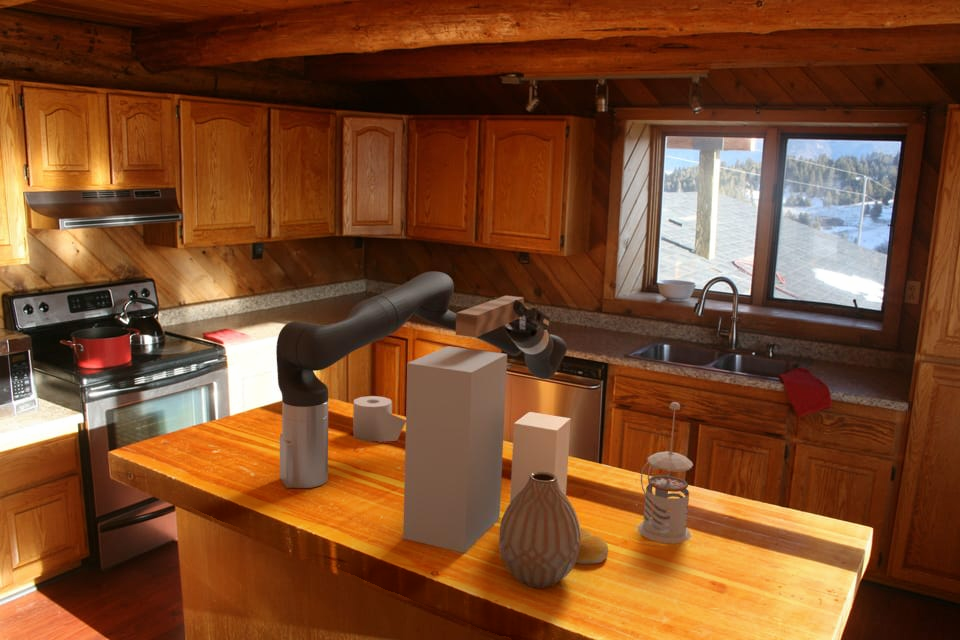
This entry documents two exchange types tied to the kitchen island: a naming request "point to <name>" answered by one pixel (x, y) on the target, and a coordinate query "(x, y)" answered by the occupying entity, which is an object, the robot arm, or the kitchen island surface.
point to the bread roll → (591, 548)
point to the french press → (666, 497)
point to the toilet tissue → (375, 420)
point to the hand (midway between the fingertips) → (504, 303)
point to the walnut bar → (486, 316)
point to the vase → (540, 533)
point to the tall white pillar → (453, 446)
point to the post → (539, 449)
